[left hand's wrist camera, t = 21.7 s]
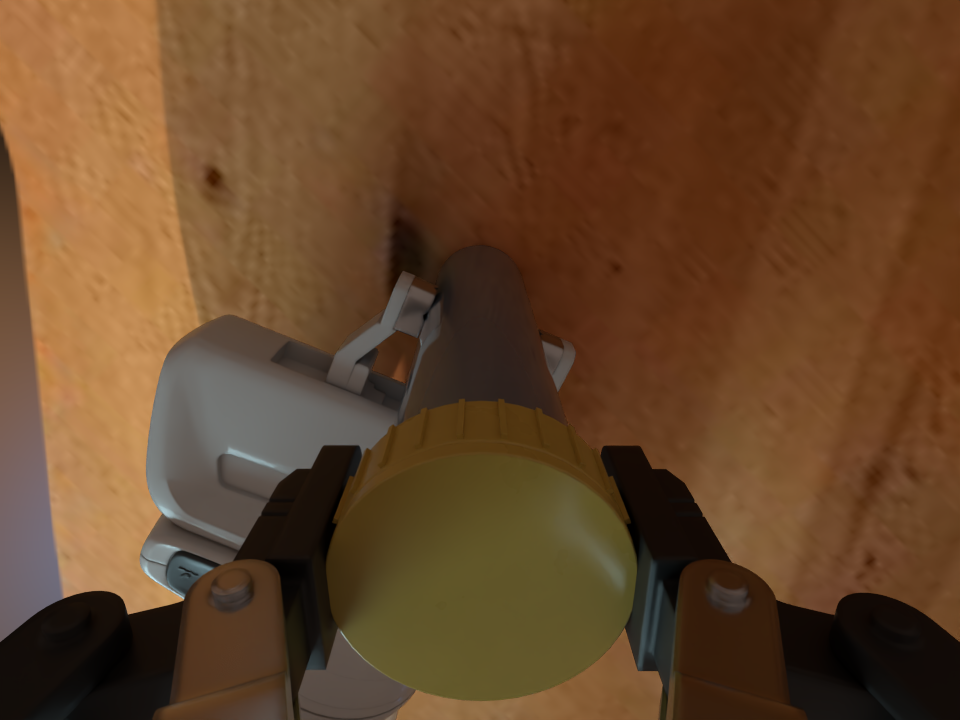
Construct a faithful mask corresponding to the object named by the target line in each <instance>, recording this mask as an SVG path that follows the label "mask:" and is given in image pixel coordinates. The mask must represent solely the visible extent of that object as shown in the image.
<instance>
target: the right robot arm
mask: <svg viewBox="0 0 960 720" xmlns="http://www.w3.org/2000/svg"><path fill="white" fill-rule="evenodd" d="M437 289H438V286H437V285H434V284H432V283H430V282H428V281H425V280H423V279H421V278H419V277H416V276H415V275H413V274H410V273H407V272H405V271H403V272H402V273H401V275H400V277H399V279H398V281H397V283H396V285H395V288H394V290H393V292H392V295H391V297H390V300H389V302H388V305H387V307H386V309H384V310H383V311H381V312H380V313H378V314H377V315H376V316H374V317H373V318H372V319H370V320H369V321H368V322H366V323H365V324H363V325H362V326H361V327H359V328H358V329H357V330H355V331H354V332H353V333H351V334H350V335H348V336H347V338H346V339H345V341H344V342H343V344H342V345H341V346H340V348H339V349H338V351H337V352H336V354H335V355H332V354H330V353H327V352H325V351H322V350H320V349H317V348H315V347H312V346H310V345H307V344H305V343H302V342H300V341H297V340H295V339H292V338H290V337H287V336H285V335H282V334H280V333H277V332H275V331H272V330H270V329H267V328H265V327H262V326H260V325H257V324H255V323H252V322H250V321H247V320H245V319H242V318H240V317H237V316H234V315H224V316H221V317H219V318H216V319H214V320H212V321H210V322H207V323H205V324H203V325H201V326H200V327H198V328H196V329H194V330H193V331H191V332H189V333H188V334H187V335H185V336H184V337H183V338H181V339H180V340H179V341H178V342H177V343H176V344H175V345H174V346H173V347H172V348H171V350H170V351H169V353H168V354H167V356H166V358H165V360H164V364H163V367H162V370H161V373H160V377H159V381H158V385H157V390H156V395H155V400H154V405H153V410H152V416H151V423H150V430H149V437H148V448H147V459H146V477H147V484H148V489H149V492H150V495H151V497H152V499H153V501H154V503H155V505H156V506H157V507H158V509H159V510H160V511H161V512H162V513H163V514H162V515H161V517H160V518H159V519H158V521H157V522H156V524H155V526H154V527H153V529H152V531H151V532H150V534H149V536H148V537H147V539H146V541H145V543H144V545H143V548H142V551H141V554H140V565H141V567H142V569H143V571H144V572H145V573H146V574H147V575H148V576H149V577H150V578H151V579H153V580H154V581H155V582H157V583H159V584H160V585H162V586H163V587H165V588H167V589H168V590H170V591H172V592H173V593H175V594H177V595H178V596H180V597H181V598H183V599H184V598H185V595H186V593H187V591H188V590H189V588H190V587H191V586H192V584H193V583H194V582H195V581H196V580H197V579H199V578H200V577H201V576H202V575H204V574H205V573H207V572H208V571H210V570H212V569H214V568H216V567H218V566H220V565H223V564H225V563H229V562H232V561H233V560H234V558H235V556H236V555H237V553H238V551H239V550H240V548H241V546H242V545H243V543H244V541H245V539H246V538H247V536H248V534H249V533H250V531H251V529H252V527H253V526H254V524H255V522H256V521H257V519H258V517H259V516H261V512H262V510H263V509H264V507H265V505H266V504H267V502H269V498H270V497H271V495H272V493H273V492H274V490H275V488H276V486H277V485H278V483H279V482H280V481H282V480H283V479H284V478H285V477H287V476H288V475H289V474H291V473H292V472H293V471H295V470H296V469H311V468H312V466H313V464H314V462H315V460H316V458H317V456H318V454H319V452H320V450H321V448H322V447H323V446H324V445H359V446H360V448H361V452H362V455H363V453H364V451H365V449H366V448H368V449H370V450H371V449H372V448H373V446H374V445H375V444H376V443H377V442H378V441H379V440H380V439H381V438H382V437H383V436H385V435H386V434H387V432H388V428H389V427H390V426H391V425H393V424H394V421H395V418H396V415H397V411H398V408H399V404H400V401H401V398H402V394H403V391H404V388H405V383H402V382H400V381H397V380H395V379H392V378H390V377H387V376H385V375H382V374H380V373H377V372H375V371H372V368H373V365H374V363H375V360H376V358H377V355H378V352H379V351H378V349H377V348H374V347H376V346H377V345H378V344H380V343H381V342H382V341H384V340H385V339H386V338H388V337H389V336H390V335H392V334H393V333H394V332H396V331H397V330H398V331H400V332H403V333H406V334H408V335H411V336H413V337H416V338H418V336H419V334H420V331H421V329H422V327H423V324H424V321H425V317H426V314H427V312H429V310H430V308H431V306H432V303H433V301H434V298H435V296H436V293H437ZM538 330H539V334H540V337H541V340H542V343H543V346H544V350H545V353H546V356H547V359H548V362H549V366H550V369H551V372H552V375H553V379H554V382H555V385H556V388H557V391H559V389H560V387H561V386H562V384H563V382H564V380H565V378H566V376H567V374H568V372H569V370H570V369H571V367H572V365H573V363H574V359H575V356H576V351H575V349H574V347H573V345H572V343H571V342H568V341H566V340H564V339H561V338H559V337H557V336H554V335H552V334H549V333H547V332H545V331H542V330H540V329H538ZM415 691H416V689H413V688H410V687H408V686H406V685H403V684H401V683H399V682H397V681H395V680H393V679H391V678H389V677H388V676H386V675H385V674H383V673H381V672H380V671H378V670H377V669H375V668H374V667H373V666H372V665H370V664H369V663H368V662H366V661H365V660H364V659H363V658H362V657H361V656H360V655H359V654H358V653H357V652H356V651H355V650H354V649H353V648H352V647H351V645H350V644H349V643H348V642H347V640H346V639H345V638H344V636H343V635H342V633H341V632H340V630H339V628H338V630H337V633H336V637H335V640H334V644H333V647H332V650H331V654H330V657H329V661H328V664H327V668H326V670H306V671H305V674H304V677H303V680H302V683H301V686H300V689H299V692H298V694H299V700H300V708H301V719H302V720H396V718H397V712H398V709H400V708H401V707H402V706H403V705H404V704H405V703H406V702H407V701H408V700H409V699H410V697H411V696H412V695H413V694H414V692H415Z"/></svg>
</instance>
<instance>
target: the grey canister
mask: <svg viewBox="0 0 960 720" xmlns="http://www.w3.org/2000/svg"><path fill="white" fill-rule="evenodd" d="M435 285H437V286H438V289H437V293H436V296H435V298H434V301H433V303H432V306H431V308H430V310H429V312H427V314H426V317H425V321H424V324H423V327H422V330H421V334H420V337H419V340H418V344H417V347H416V351H415V354H414V357H413V361H412V364H411V367H410V371H409V374H408V377H407V381H406V384H405V388H404V391H403V394H402V398H401V401H400V404H399V408H398V411H397V415H396V418H395V421H394V426H395V427H396V426H398V425H399V424H401V423H403V422H404V421H406V420H408V419H409V418H411V417H414V416H416V415H418V414H420V413H421V409H423V408H426V407H427V409H428V410H430V409H434V408H437V407H440V406H443V405H448V404H454V403H459V399H465V402H469V401H493V402H498V399H504V402H505V403H509V404H515V405H520V406H523V407H526V408H529V409H532V410H535V409H536V407H537V408H540V409H542V413H543V414H545V415H547V416H549V417H551V418H554V419H555V420H557V421H558V422H560V423H562V424H563V425H565V426H567V427H568V423H567V420H566V417H565V414H564V411H563V407H562V404H561V401H560V398H559V395H558V391H557V388H556V385H555V382H554V379H553V375H552V372H551V369H550V366H549V362H548V359H547V356H546V353H545V350H544V346H543V343H542V340H541V337H540V334H539V330H538V327H537V324H536V321H535V318H534V314H533V311H532V308H531V305H530V302H529V298H528V295H527V292H526V289H525V286H524V282H523V279H522V276H521V273H520V271H519V269H518V267H517V265H516V264H515V263H514V261H513V260H512V259H511V258H510V257H509V256H508V255H506V254H505V253H504V252H502V251H500V250H498V249H496V248H493V247H489V246H483V245H476V246H470V247H466V248H463V249H461V250H459V251H457V252H456V253H454V254H453V255H451V256H450V257H449V258H448V259H447V260H446V261H445V263H444V264H443V265H442V267H441V269H440V271H439V274H438V276H437V280H436V283H435Z"/></svg>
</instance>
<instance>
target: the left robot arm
mask: <svg viewBox="0 0 960 720" xmlns="http://www.w3.org/2000/svg"><path fill="white" fill-rule="evenodd" d="M361 458H362V452H361V448H360V446H359V445H324V446H323V447H322V448H321V450H320V452H319V454H318V456H317V458H316V460H315V462H314V464H313V466H312V468H311V469H296V470H295V471H293V472H292V473H291V474H289V475H288V476H287V477H285V478H284V479H283V480H282V481H280V482H279V483H278V485H277V486H276V488H275V490H274V492H273V493H272V495H271V497H270V498H269V502H267V504H266V505H265V507H264V509H263V510H262V512H261V516H259V517H258V519H257V521H256V522H255V524H254V526H253V527H252V529H251V531H250V533H249V534H248V536H247V538H246V539H245V541H244V543H243V545H242V546H241V548H240V550H239V551H238V553H237V555H236V556H235V558H234V560H233V561H232V562H229V563H225V564H223V565H220V566H218V567H216V568H214V569H212V570H210V571H208V572H207V573H205V574H204V575H202V576H201V577H200V578H199V579H197V580H196V581H195V582H194V583H193V584H192V586H191V587H190V588H189V590H188V591H187V593H186V595H185V598H184V601H181V602H178V603H175V604H171V605H167V606H163V607H159V608H154V609H150V610H146V611H142V612H137V613H133V614H129V615H128V614H127V610H126V607H125V604H124V601H123V599H122V598H121V597H120V596H118V595H116V594H115V593H111V592H107V591H91V592H84V593H80V594H76V595H73V596H70V597H67V598H64V599H62V600H59V601H57V602H55V603H53V604H51V605H49V606H47V607H46V608H44V609H42V610H41V611H39V612H38V613H36V614H35V615H34V616H32V617H31V618H30V619H28V620H27V621H26V622H25V623H23V624H22V625H21V626H20V627H18V628H17V629H16V630H15V631H14V632H12V633H11V634H10V635H9V636H7V637H6V638H5V639H4V640H2V641H1V642H0V720H302V719H301V708H300V700H299V694H298V692H299V689H300V686H301V683H302V680H303V677H304V674H305V671H306V670H326V668H327V664H328V661H329V657H330V654H331V650H332V647H333V644H334V640H335V637H336V633H337V630H338V626H337V625H336V623H335V621H334V619H333V616H332V613H331V607H330V599H329V591H328V583H327V575H326V555H327V551H328V548H329V545H330V541H331V538H332V536H333V533H334V530H335V528H336V525H337V524H334V523H332V521H333V518H334V516H335V513H336V511H337V508H338V505H339V503H340V500H341V497H342V495H343V492H344V489H345V487H346V484H347V482H348V479H349V476H352V477H354V476H355V474H356V472H357V469H358V466H359V464H360V461H361ZM601 459H602V462H603V464H604V467H605V469H606V472H607V475H608V477H610V476H613V478H614V480H615V483H616V486H617V488H618V491H619V493H620V496H621V498H622V501H623V503H624V506H625V508H626V511H627V513H628V516H629V518H630V521H631V523H630V524H627V527H628V529H629V532H630V535H631V537H632V540H633V544H634V547H635V550H636V554H637V560H638V566H637V576H636V584H635V592H634V600H633V607H632V613H631V615H630V618H629V620H628V622H627V624H626V626H625V629H626V632H627V636H628V639H629V642H630V646H631V649H632V653H633V656H634V659H635V663H636V666H637V669H638V671H658V672H659V675H660V678H661V681H662V684H663V687H662V694H661V700H660V708H659V719H658V720H960V642H959V641H958V640H956V639H955V638H954V637H953V636H951V635H950V634H949V633H948V632H947V631H945V630H944V629H943V628H942V627H940V626H939V625H938V624H937V623H935V622H934V621H933V620H932V619H930V618H929V617H928V616H926V615H925V614H923V613H922V612H920V611H918V610H917V609H915V608H913V607H911V606H909V605H907V604H906V603H903V602H901V601H898V600H896V599H893V598H890V597H887V596H883V595H879V594H872V593H854V594H850V595H847V596H845V597H844V598H842V599H841V600H840V601H839V603H838V606H837V609H836V612H835V615H831V614H827V613H823V612H818V611H814V610H810V609H806V608H801V607H797V606H793V605H790V604H786V603H783V602H780V601H778V600H776V598H775V595H774V593H773V591H772V590H771V588H770V587H769V586H768V584H767V583H766V582H765V581H764V580H763V579H761V578H760V577H759V576H758V575H756V574H755V573H753V572H752V571H750V570H748V569H746V568H744V567H742V566H740V565H737V564H735V563H732V562H731V561H730V559H729V557H728V556H727V554H726V552H725V550H724V549H723V547H722V545H721V544H720V542H719V540H718V539H717V537H716V535H715V534H714V532H713V530H712V529H711V527H710V525H709V524H708V522H707V520H706V518H705V517H703V516H702V512H701V510H700V508H699V507H698V505H697V503H695V502H694V498H693V497H692V495H691V493H690V492H689V490H688V488H687V487H686V485H685V483H684V482H682V481H681V480H680V479H678V478H677V477H676V476H674V475H673V474H672V473H670V472H669V471H668V470H667V469H652V468H651V466H650V464H649V462H648V460H647V458H646V456H645V454H644V452H643V450H642V449H641V447H640V446H603V448H602V452H601Z"/></svg>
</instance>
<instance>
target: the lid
mask: <svg viewBox="0 0 960 720" xmlns="http://www.w3.org/2000/svg"><path fill="white" fill-rule="evenodd" d="M332 523H334V524H337V525H336V528H335V530H334V533H333V536H332V538H331V541H330V545H329V548H328V551H327V555H326V575H327V583H328V591H329V599H330V607H331V613H332V616H333V619H334V621H335V623H336V625H337V626H338V628H339V630H340V632H341V633H342V635H343V636H344V638H345V639H346V640H347V642H348V643H349V644H350V645H351V647H352V648H353V649H354V650H355V651H356V652H357V653H358V654H359V655H360V656H361V657H362V658H363V659H364V660H365V661H366V662H368V663H369V664H370V665H372V666H373V667H374V668H375V669H377V670H378V671H380V672H381V673H383V674H385V675H386V676H388V677H389V678H391V679H393V680H395V681H397V682H399V683H401V684H403V685H406V686H408V687H410V688H413V689H416V690H419V691H421V692H424V693H428V694H432V695H436V696H440V697H444V698H451V699H458V700H471V701H490V700H504V699H511V698H518V697H522V696H526V695H530V694H534V693H538V692H541V691H543V690H546V689H549V688H552V687H554V686H557V685H559V684H561V683H563V682H565V681H567V680H569V679H571V678H573V677H574V676H576V675H578V674H579V673H581V672H583V671H584V670H586V669H587V668H588V667H589V666H591V665H592V664H593V663H595V662H596V661H597V660H598V659H599V658H600V657H601V656H602V655H603V654H604V653H605V652H606V651H607V650H608V649H609V648H610V647H611V646H612V645H613V643H614V642H615V641H616V640H617V638H618V637H619V636H620V634H621V633H622V631H623V629H624V627H625V626H626V624H627V622H628V620H629V618H630V615H631V613H632V607H633V600H634V592H635V584H636V576H637V566H638V560H637V554H636V550H635V547H634V544H633V540H632V537H631V535H630V532H629V529H628V527H627V524H630V523H631V521H630V518H629V516H628V513H627V511H626V508H625V506H624V503H623V501H622V498H621V496H620V493H619V491H618V488H617V486H616V483H615V480H614V478H613V476H610V477H608V475H607V472H606V469H605V467H604V464H603V462H602V459H601V456H600V454H599V451H598V450H597V449H596V448H595V449H593V450H592V449H591V448H590V447H589V446H588V445H587V444H586V443H585V441H584V440H583V439H582V438H580V437H579V436H578V435H577V434H576V432H575V429H574V427H573V426H572V425H570V424H569V426H568V427H567V426H565V425H563V424H562V423H560V422H558V421H557V420H555V419H554V418H551V417H549V416H547V415H545V414H543V413H542V409H540V408H537V407H536V409H535V410H532V409H529V408H526V407H523V406H520V405H515V404H509V403H505V402H504V399H498V402H493V401H469V402H465V399H459V403H454V404H448V405H443V406H440V407H437V408H434V409H430V410H428V409H427V407H426V408H423V409H421V413H420V414H418V415H416V416H414V417H411V418H409V419H408V420H406V421H404V422H403V423H401V424H399V425H398V426H396V427H395V426H394V424H393V425H391V426H390V427H389V428H388V432H387V434H386V435H385V436H383V437H382V438H381V439H380V440H379V441H378V442H377V443H376V444H375V445H374V446H373V448H372V449H371V450H370V449H368V448H366V449H365V451H364V453H363V455H362V458H361V461H360V464H359V466H358V469H357V472H356V474H355V476H354V477H352V476H349V479H348V482H347V484H346V487H345V489H344V492H343V495H342V497H341V500H340V503H339V505H338V508H337V511H336V513H335V516H334V518H333V521H332Z"/></svg>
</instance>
